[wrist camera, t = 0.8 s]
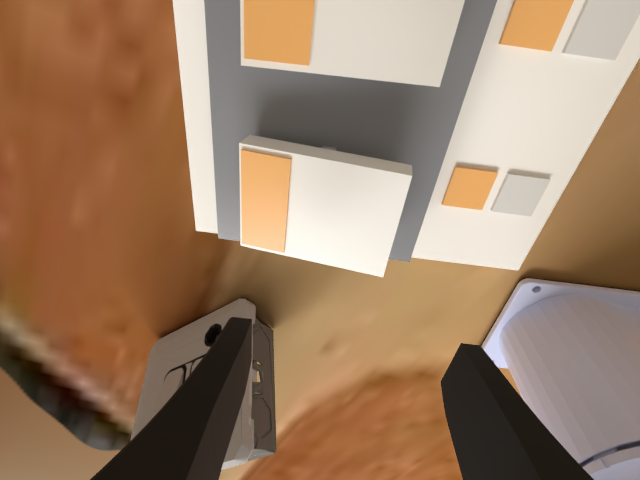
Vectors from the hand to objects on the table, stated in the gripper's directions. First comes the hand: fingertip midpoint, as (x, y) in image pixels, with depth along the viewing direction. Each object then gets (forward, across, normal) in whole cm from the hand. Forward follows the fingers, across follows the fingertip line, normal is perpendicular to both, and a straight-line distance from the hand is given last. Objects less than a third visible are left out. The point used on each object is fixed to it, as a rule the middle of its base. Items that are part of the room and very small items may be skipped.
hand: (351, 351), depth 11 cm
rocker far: (+5, +2, -2) cm, 6 cm away
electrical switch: (+10, +7, +12) cm, 17 cm away
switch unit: (+9, -1, -6) cm, 11 cm away
